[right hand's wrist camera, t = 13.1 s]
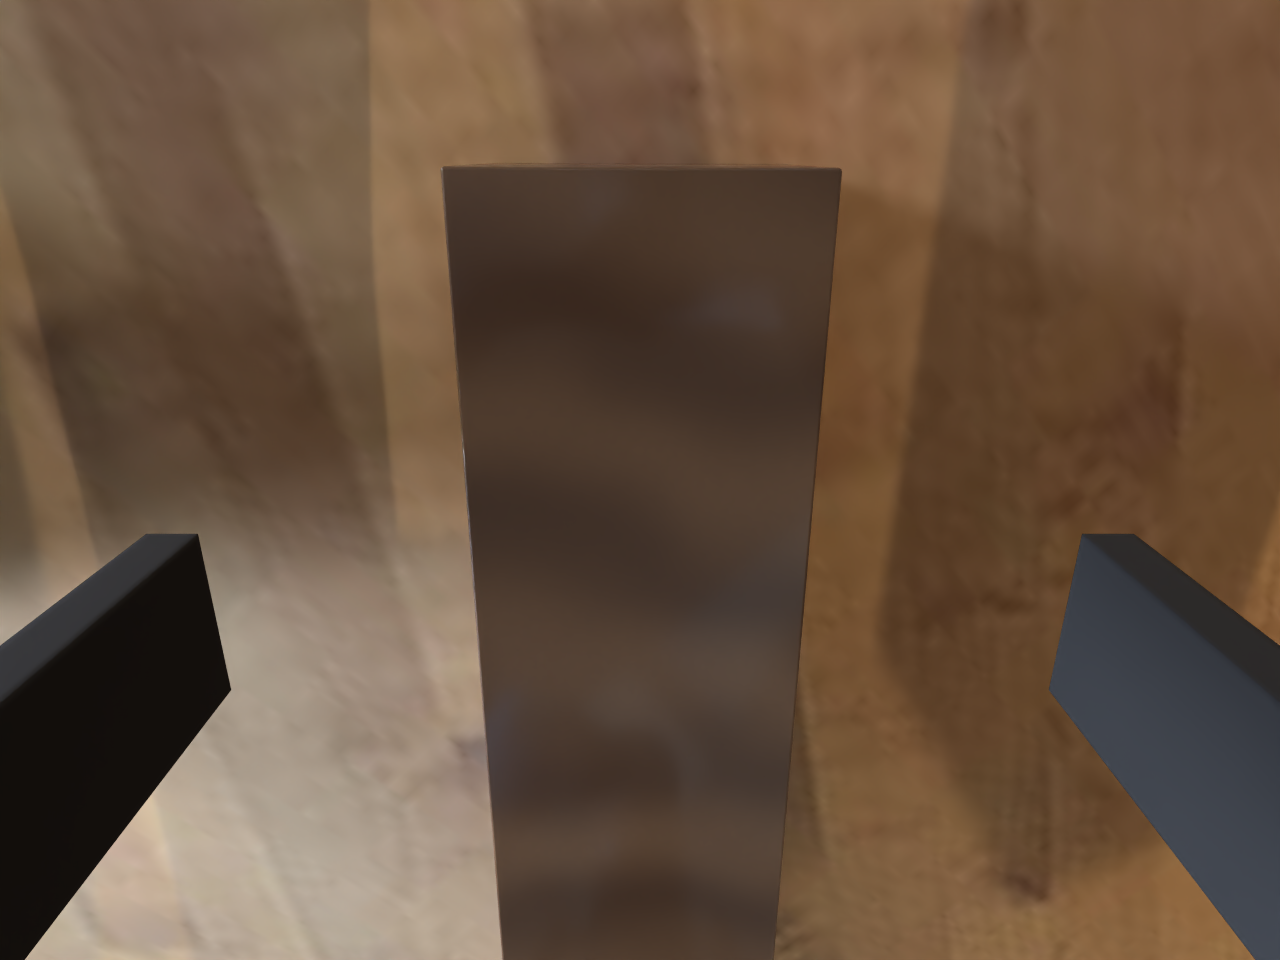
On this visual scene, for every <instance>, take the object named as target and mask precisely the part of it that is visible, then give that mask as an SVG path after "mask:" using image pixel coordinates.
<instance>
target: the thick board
mask: <svg viewBox="0 0 1280 960" xmlns="http://www.w3.org/2000/svg"><path fill="white" fill-rule="evenodd" d="M841 176H842V170H841V169H840V168H830V167H815V166H799V165H725V164H495V163H494V164H477V165H459V166H444V167H442V168H441V178H442V191H443V204H444V217H445V230H446V243H447V255H448V268H449V281H450V294H451V307H452V319H453V332H454V345H455V358H456V371H457V384H458V396H459V409H460V422H461V435H462V448H463V460H464V473H465V486H466V499H467V512H468V525H469V537H470V550H471V563H472V576H473V589H474V601H475V614H476V627H477V640H478V653H479V666H480V678H481V691H482V704H483V717H484V730H485V742H486V755H487V768H488V781H489V794H490V807H491V819H492V832H493V845H494V858H495V871H496V883H497V896H498V909H499V922H500V935H501V948H502V960H773V959H774V948H775V936H776V924H777V913H778V901H779V890H780V878H781V867H782V855H783V844H784V832H785V821H786V809H787V798H788V786H789V775H790V763H791V752H792V740H793V729H794V717H795V706H796V694H797V683H798V671H799V660H800V648H801V636H802V625H803V613H804V602H805V590H806V579H807V567H808V556H809V544H810V533H811V521H812V510H813V498H814V487H815V475H816V464H817V452H818V441H819V429H820V418H821V406H822V395H823V383H824V372H825V360H826V348H827V337H828V325H829V314H830V302H831V291H832V279H833V268H834V256H835V245H836V233H837V222H838V210H839V199H840V187H841Z"/></svg>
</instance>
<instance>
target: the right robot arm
mask: <svg viewBox="0 0 1280 960" xmlns="http://www.w3.org/2000/svg"><path fill="white" fill-rule="evenodd" d="M230 691H231V687H230V682H229V678H228V673H227V668H226V664H225V659H224V654H223V650H222V645H221V640H220V636H219V631H218V626H217V621H216V617H215V612H214V607H213V603H212V598H211V593H210V589H209V584H208V579H207V575H206V570H205V565H204V561H203V556H202V551H201V546H200V542H199V537H198V534H146V535H144V536H143V537H142V538H140V539H139V540H138V541H136V542H135V543H134V544H132V545H131V546H130V547H129V548H127V549H126V550H125V551H123V552H122V553H121V554H119V555H118V556H117V557H115V558H114V559H113V560H112V561H110V562H109V563H108V564H106V565H105V566H104V567H102V568H101V569H100V570H99V571H97V572H96V573H95V574H93V575H92V576H91V577H89V578H88V579H87V580H85V581H84V582H83V583H82V584H80V585H79V586H78V587H76V588H75V589H74V590H72V591H71V592H70V593H68V594H67V595H66V596H65V597H63V598H62V599H61V600H59V601H58V602H57V603H55V604H54V605H53V606H52V607H50V608H49V609H48V610H46V611H45V612H44V613H42V614H41V615H40V616H38V617H37V618H36V619H35V620H33V621H32V622H31V623H29V624H28V625H27V626H25V627H24V628H23V629H21V630H20V631H19V632H18V633H16V634H15V635H14V636H12V637H11V638H10V639H8V640H7V641H6V642H5V643H3V644H2V645H1V646H0V960H25V958H26V957H27V956H28V955H29V953H30V952H31V951H32V949H33V948H34V947H35V945H36V944H37V943H38V942H39V940H40V939H41V938H42V936H43V935H44V934H45V932H46V931H47V930H48V928H49V927H50V926H51V925H52V923H53V922H54V921H55V919H56V918H57V917H58V915H59V914H60V913H61V911H62V910H63V909H64V908H65V906H66V905H67V904H68V902H69V901H70V900H71V898H72V897H73V896H74V894H75V893H76V892H77V891H78V889H79V888H80V887H81V885H82V884H83V883H84V881H85V880H86V879H87V878H88V876H89V875H90V874H91V872H92V871H93V870H94V868H95V867H96V866H97V864H98V863H99V862H100V861H101V859H102V858H103V857H104V855H105V854H106V853H107V851H108V850H109V849H110V847H111V846H112V845H113V844H114V842H115V841H116V840H117V838H118V837H119V836H120V834H121V833H122V832H123V830H124V829H125V828H126V827H127V825H128V824H129V823H130V821H131V820H132V819H133V817H134V816H135V815H136V813H137V812H138V811H139V810H140V808H141V807H142V806H143V804H144V803H145V802H146V800H147V799H148V798H149V797H150V795H151V794H152V793H153V791H154V790H155V789H156V787H157V786H158V785H159V783H160V782H161V781H162V780H163V778H164V777H165V776H166V774H167V773H168V772H169V770H170V769H171V768H172V766H173V765H174V764H175V763H176V761H177V760H178V759H179V757H180V756H181V755H182V753H183V752H184V751H185V749H186V748H187V747H188V746H189V744H190V743H191V742H192V740H193V739H194V738H195V736H196V735H197V734H198V733H199V731H200V730H201V729H202V727H203V726H204V725H205V723H206V722H207V721H208V719H209V718H210V717H211V716H212V714H213V713H214V712H215V710H216V709H217V708H218V706H219V705H220V704H221V702H222V701H223V700H224V699H225V697H226V696H227V695H228V693H229V692H230ZM1049 691H1050V692H1051V693H1052V695H1053V696H1054V697H1055V699H1056V700H1057V701H1058V702H1059V704H1060V705H1061V706H1062V708H1063V709H1064V710H1065V712H1066V713H1067V714H1068V716H1069V717H1070V718H1071V719H1072V721H1073V722H1074V723H1075V725H1076V726H1077V727H1078V729H1079V730H1080V731H1081V733H1082V734H1083V735H1084V736H1085V738H1086V739H1087V740H1088V742H1089V743H1090V744H1091V746H1092V747H1093V748H1094V749H1095V751H1096V752H1097V753H1098V755H1099V756H1100V757H1101V759H1102V760H1103V761H1104V763H1105V764H1106V765H1107V766H1108V768H1109V769H1110V770H1111V772H1112V773H1113V774H1114V776H1115V777H1116V778H1117V780H1118V781H1119V782H1120V783H1121V785H1122V786H1123V787H1124V789H1125V790H1126V791H1127V793H1128V794H1129V795H1130V797H1131V798H1132V799H1133V800H1134V802H1135V803H1136V804H1137V806H1138V807H1139V808H1140V810H1141V811H1142V812H1143V813H1144V815H1145V816H1146V817H1147V819H1148V820H1149V821H1150V823H1151V824H1152V825H1153V827H1154V828H1155V829H1156V830H1157V832H1158V833H1159V834H1160V836H1161V837H1162V838H1163V840H1164V841H1165V842H1166V844H1167V845H1168V846H1169V847H1170V849H1171V850H1172V851H1173V853H1174V854H1175V855H1176V857H1177V858H1178V859H1179V861H1180V862H1181V863H1182V864H1183V866H1184V867H1185V868H1186V870H1187V871H1188V872H1189V874H1190V875H1191V876H1192V878H1193V879H1194V880H1195V881H1196V883H1197V884H1198V885H1199V887H1200V888H1201V889H1202V891H1203V892H1204V893H1205V894H1206V896H1207V897H1208V898H1209V900H1210V901H1211V902H1212V904H1213V905H1214V906H1215V908H1216V909H1217V910H1218V911H1219V913H1220V914H1221V915H1222V917H1223V918H1224V919H1225V921H1226V922H1227V923H1228V925H1229V926H1230V927H1231V928H1232V930H1233V931H1234V932H1235V934H1236V935H1237V936H1238V938H1239V939H1240V940H1241V942H1242V943H1243V944H1244V945H1245V947H1246V948H1247V949H1248V951H1249V952H1250V953H1251V955H1252V956H1253V957H1254V958H1255V960H1280V646H1279V645H1278V644H1277V643H1275V642H1274V641H1273V640H1272V639H1270V638H1269V637H1268V636H1266V635H1265V634H1264V633H1262V632H1261V631H1260V630H1259V629H1257V628H1256V627H1255V626H1253V625H1252V624H1251V623H1249V622H1248V621H1247V620H1245V619H1244V618H1243V617H1242V616H1240V615H1239V614H1238V613H1236V612H1235V611H1234V610H1232V609H1231V608H1230V607H1228V606H1227V605H1226V604H1225V603H1223V602H1222V601H1221V600H1219V599H1218V598H1217V597H1215V596H1214V595H1213V594H1212V593H1210V592H1209V591H1208V590H1206V589H1205V588H1204V587H1202V586H1201V585H1200V584H1198V583H1197V582H1196V581H1195V580H1193V579H1192V578H1191V577H1189V576H1188V575H1187V574H1185V573H1184V572H1183V571H1181V570H1180V569H1179V568H1178V567H1176V566H1175V565H1174V564H1172V563H1171V562H1170V561H1168V560H1167V559H1166V558H1165V557H1163V556H1162V555H1161V554H1159V553H1158V552H1157V551H1155V550H1154V549H1153V548H1151V547H1150V546H1149V545H1148V544H1146V543H1145V542H1144V541H1142V540H1141V539H1140V538H1138V537H1137V536H1136V535H1134V534H1082V537H1081V542H1080V546H1079V551H1078V556H1077V561H1076V565H1075V570H1074V575H1073V579H1072V584H1071V589H1070V593H1069V598H1068V603H1067V607H1066V612H1065V617H1064V621H1063V626H1062V631H1061V636H1060V640H1059V645H1058V650H1057V654H1056V659H1055V664H1054V668H1053V673H1052V678H1051V682H1050V687H1049Z"/></svg>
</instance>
